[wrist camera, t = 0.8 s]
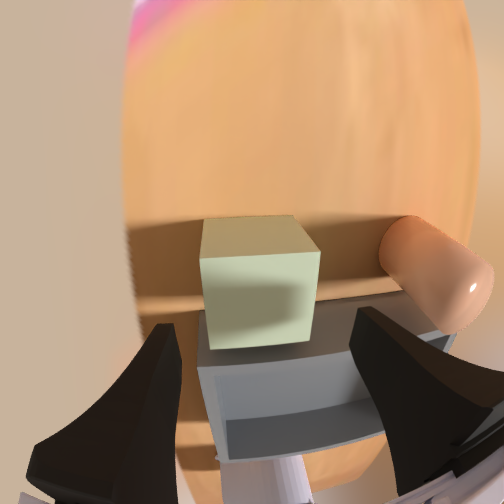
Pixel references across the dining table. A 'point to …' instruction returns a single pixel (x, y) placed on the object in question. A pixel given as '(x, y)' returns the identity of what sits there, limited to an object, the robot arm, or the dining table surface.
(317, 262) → the green block
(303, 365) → the tote
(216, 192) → the dining table surface
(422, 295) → the terracotta cylinder
